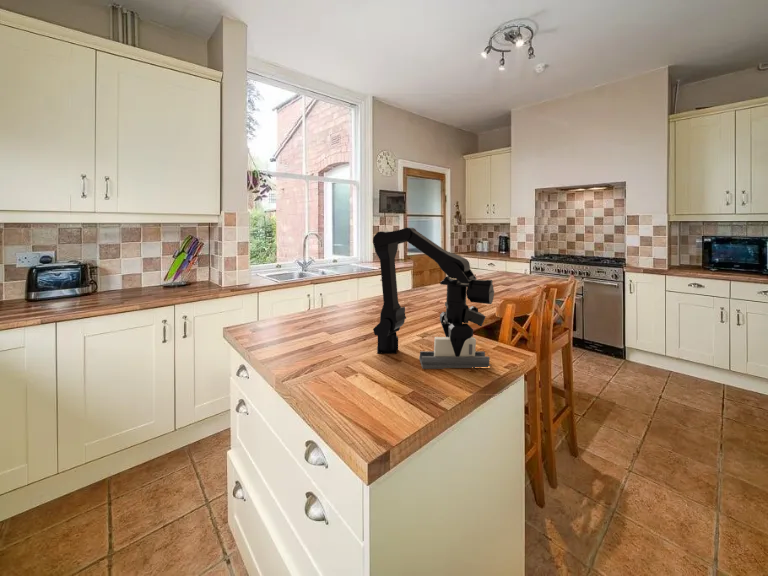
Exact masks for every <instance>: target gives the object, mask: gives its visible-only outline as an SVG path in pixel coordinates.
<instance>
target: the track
mask: <svg viewBox="0 0 768 576" xmlns="http://www.w3.org/2000/svg"><path fill="white" fill-rule="evenodd" d="M419 362H420V365H421V368H422V369H423V370H434V369H435V370H437V369H439V370H445V369H444V368H472V367H473V368H475V367H488V366H491V364H490V356H488V355H487V356H486V352H485V351H476V350H475V356H459V357H456V356H434V350H433V351H431V350H429V351H427V350H423V351H422V350H421V351H419ZM491 367H492V366H491Z"/></svg>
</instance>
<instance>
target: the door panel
mask: <svg viewBox="0 0 768 576" xmlns="http://www.w3.org/2000/svg"><path fill="white" fill-rule="evenodd" d="M476 342H477V339H476V338H475V337H474V336H473V337H471V338H469V339H467V340H466V341H465V342H464V345H463V347H462V350H461V353H460V356H475V351H476V345H477V343H476ZM433 343H434V344H433V351H434V356H455V353H454V350H453V347H452V344H451V341H450V338H449V337H446V336H434V342H433Z"/></svg>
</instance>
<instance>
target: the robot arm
mask: <svg viewBox="0 0 768 576" xmlns="http://www.w3.org/2000/svg"><path fill="white" fill-rule="evenodd" d="M406 242H408V243H409V244H410V245H412V247H414V248H416V249H418V250H419V251H420V252H422V253H423V254H424V255H425V256H426V257H428V258H430V259H432V260H433V261H434V262H436V264H437V265H438V266H439V268H440V269H441V271H442V272H443V273H445V275H447V276H445V277H444V278H443V279H442V280H441V281H440V282H439V284H440V285H443V286H446V300H445V302H444V306H445V311H442V312H441V313H440V314H439V321H440V325H441V327H442V331H443V333H444V337H449V338H450V341H451V344H452V347H453V350H454V353H455V356H456V357H459V356H460V353H461V350H462V347H463V345H464V342H465V341H466V340H467V339H469V338H471V337H474V329H473V328H472V327H471V326H470V325H469V322H470V323H473V324H475V325H477V326H479V327H482V326H483V324H484V322H485V320H486V315H484V314H483V313H482V312H480V311H479V308H478V307H477V306H473V305H471V306H470V307H469V305H468V304H467V300H469V301H470V302H471V303H475V304H485V305H492V304H493V302H494V297H495V290H494V285H493V280H492V279H477V277H476V275H475V274H474V273H473V271H472V269H471V265H470V261H469V260H468V259H466V258H465V257H463V256H460V254H459V255H458V254H456V253H453V252H451V251H448V250H445V249H444V248H442V247H441V246H439V245H438V244H437V243H435V242H434V241H432V240H431V239H429V238H428V237H426V236H425V235H423V234H422V233H421V232H419V231H417V230H416V228H414V227H403V228H401V229H396V230H392V231H382V230H381V231H378V232H376V233H375V234H374V235H373V238H372V244H373V248H374V252H375V254H376V256H377V257H378V259H379V264H380V276H381V287H382V299H383V300H382V301H383V305H382V308H381V311H380V318H379V323H378V324H377V325H376V326H375V327H374V328H373V329H372V330H373V333H374V336H377V346H376V354H379V355H380V354H381V355H382V354H384V355H387V354H390V355H391V354H395V355H396V354H398V351H399V336H398V334H397V332H399V331H400V328H401V327H402V326H403V325H404V324H405V321H406V319H407V317H406V307H405V306H401V305H400V302H399V297H398V281H397V271H396V270H397V269H396V256H397V253H398V250H399V245H400V244H403V243H406Z"/></svg>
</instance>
